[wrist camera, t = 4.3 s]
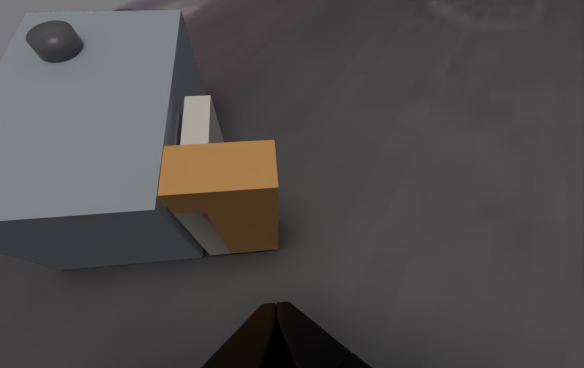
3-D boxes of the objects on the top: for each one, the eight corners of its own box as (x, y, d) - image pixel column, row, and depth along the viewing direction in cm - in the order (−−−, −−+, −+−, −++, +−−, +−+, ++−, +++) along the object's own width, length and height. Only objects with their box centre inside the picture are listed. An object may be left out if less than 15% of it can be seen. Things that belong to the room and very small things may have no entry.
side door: (278, 249, 17) (278, 187, 10) (210, 255, 17) (157, 195, 9) (271, 163, 20) (267, 65, 12) (213, 167, 19) (173, 68, 12)
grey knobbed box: (205, 257, 17) (149, 200, 10) (60, 270, 16) (-119, 219, 9) (212, 83, 24) (182, -30, 16) (109, 87, 23) (29, -29, 16)
